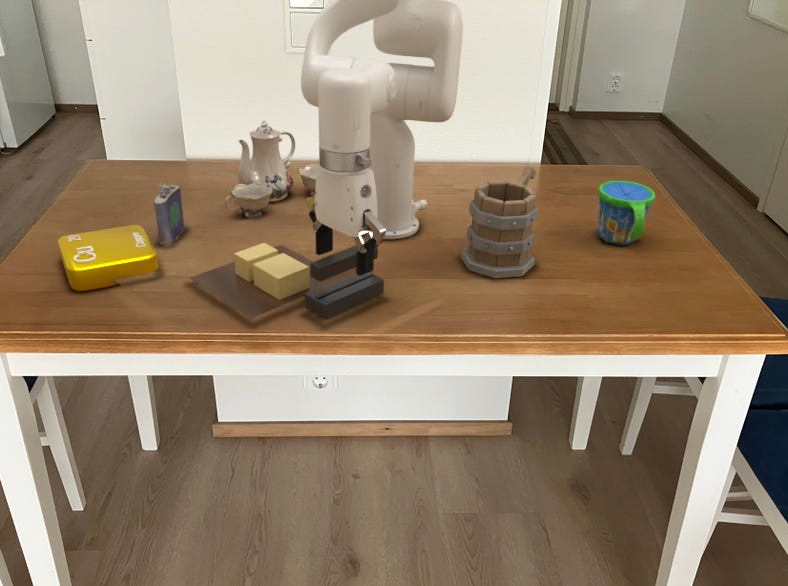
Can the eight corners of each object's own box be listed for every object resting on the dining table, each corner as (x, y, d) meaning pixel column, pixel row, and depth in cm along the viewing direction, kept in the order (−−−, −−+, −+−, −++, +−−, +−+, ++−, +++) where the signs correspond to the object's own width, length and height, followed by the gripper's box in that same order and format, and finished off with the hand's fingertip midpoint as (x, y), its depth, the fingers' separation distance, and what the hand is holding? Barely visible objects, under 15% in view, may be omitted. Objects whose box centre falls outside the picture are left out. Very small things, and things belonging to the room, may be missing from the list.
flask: (170, 247, 146) (162, 193, 140) (155, 246, 147) (147, 192, 141) (187, 228, 154) (180, 176, 148) (173, 226, 154) (166, 175, 148)
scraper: (367, 293, 134) (368, 240, 128) (376, 298, 132) (378, 245, 127) (311, 317, 127) (310, 262, 121) (321, 323, 125) (320, 268, 120)
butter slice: (265, 262, 139) (264, 242, 137) (279, 270, 137) (278, 250, 134) (235, 273, 135) (233, 253, 133) (249, 282, 133) (247, 261, 131)
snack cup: (655, 256, 149) (667, 206, 143) (601, 255, 148) (611, 205, 143) (631, 222, 162) (641, 175, 156) (581, 222, 161) (589, 175, 156)
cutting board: (281, 251, 146) (281, 244, 145) (345, 286, 136) (345, 278, 135) (190, 285, 134) (189, 277, 134) (252, 325, 124) (251, 317, 123)
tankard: (513, 285, 138) (524, 205, 129) (451, 265, 143) (457, 188, 135) (556, 245, 152) (569, 171, 143) (498, 229, 157) (507, 157, 149)
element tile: (162, 277, 136) (158, 253, 134) (73, 294, 131) (67, 268, 128) (144, 243, 148) (140, 220, 145) (60, 257, 142) (55, 233, 139)
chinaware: (252, 236, 155) (252, 157, 145) (199, 205, 163) (195, 128, 153) (347, 197, 173) (353, 125, 163) (295, 171, 181) (298, 101, 171)
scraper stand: (363, 289, 135) (363, 269, 133) (383, 300, 132) (384, 279, 130) (305, 314, 127) (304, 293, 125) (325, 326, 124) (324, 305, 122)
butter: (284, 273, 136) (283, 252, 134) (309, 287, 132) (309, 266, 130) (254, 285, 132) (252, 264, 130) (279, 300, 128) (278, 278, 126)
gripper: (403, 167, 112) (398, 274, 121) (325, 139, 122) (326, 239, 132) (365, 179, 108) (363, 288, 117) (288, 148, 118) (292, 251, 127)
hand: (344, 262), depth 124 cm, fingers open, 9 cm apart
